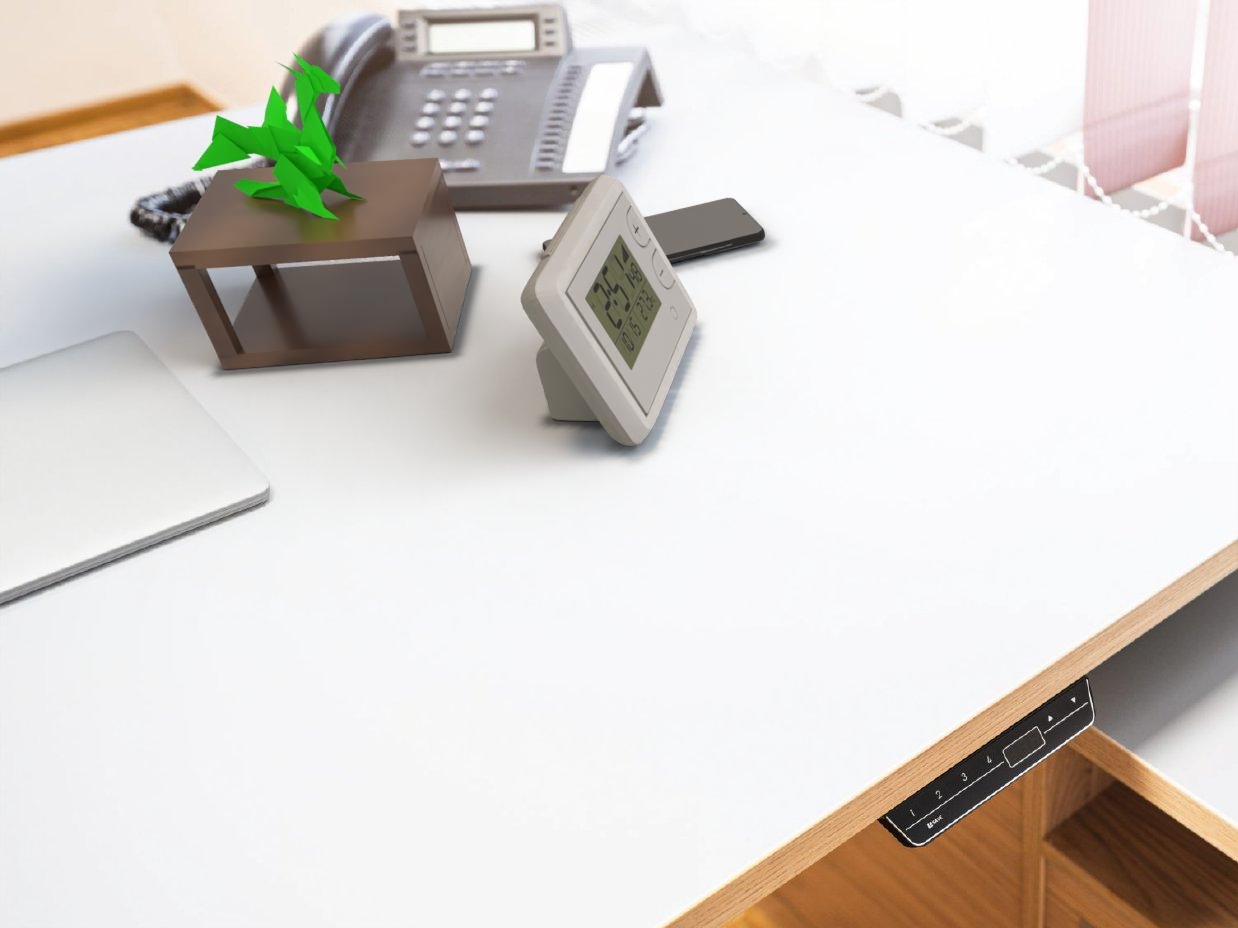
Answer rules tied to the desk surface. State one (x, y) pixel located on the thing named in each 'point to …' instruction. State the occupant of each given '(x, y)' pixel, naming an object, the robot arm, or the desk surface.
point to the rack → (330, 267)
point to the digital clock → (608, 315)
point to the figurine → (285, 146)
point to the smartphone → (702, 229)
